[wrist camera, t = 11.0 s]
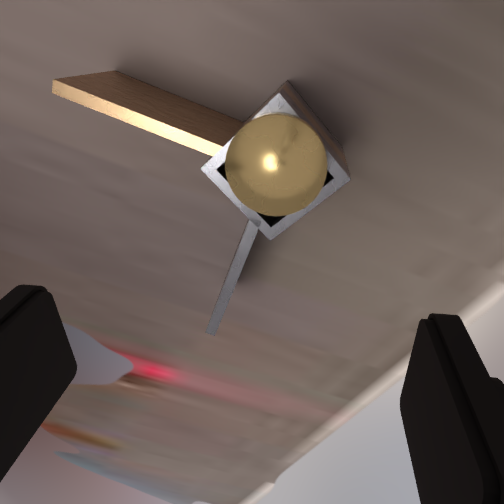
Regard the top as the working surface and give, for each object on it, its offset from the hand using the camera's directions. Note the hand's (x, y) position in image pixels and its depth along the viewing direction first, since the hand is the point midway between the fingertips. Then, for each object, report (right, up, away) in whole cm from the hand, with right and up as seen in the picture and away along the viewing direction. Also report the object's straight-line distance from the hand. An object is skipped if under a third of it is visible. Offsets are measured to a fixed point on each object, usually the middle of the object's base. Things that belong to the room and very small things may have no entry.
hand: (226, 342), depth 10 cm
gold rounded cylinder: (+3, +11, +20) cm, 23 cm away
